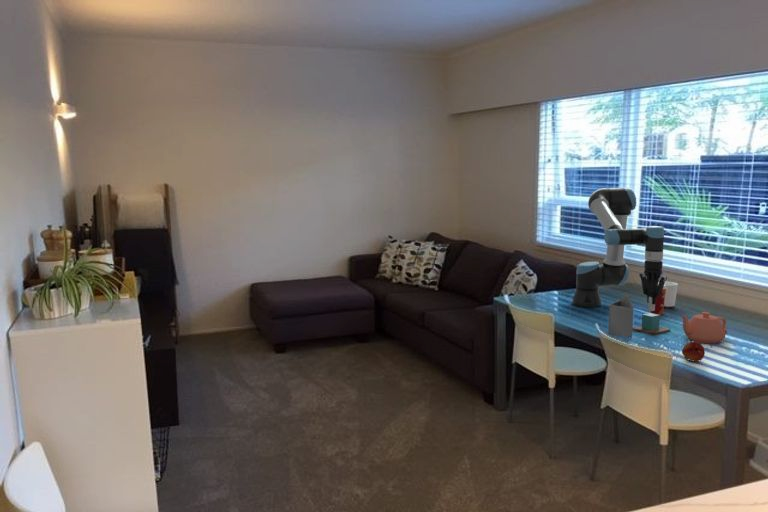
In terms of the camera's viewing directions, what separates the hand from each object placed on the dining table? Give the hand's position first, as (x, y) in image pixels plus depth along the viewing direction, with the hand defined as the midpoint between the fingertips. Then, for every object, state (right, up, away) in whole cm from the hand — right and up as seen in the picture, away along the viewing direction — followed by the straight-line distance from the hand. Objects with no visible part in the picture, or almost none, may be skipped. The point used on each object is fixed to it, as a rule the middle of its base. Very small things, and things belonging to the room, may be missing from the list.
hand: (651, 310), depth 275 cm
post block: (0, -9, +2) cm, 10 cm away
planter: (-16, -10, -1) cm, 19 cm away
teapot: (+16, -12, -15) cm, 25 cm away
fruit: (-2, -16, -41) cm, 44 cm away
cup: (+29, -2, +45) cm, 54 cm away
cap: (0, -8, +1) cm, 9 cm away
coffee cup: (+17, -5, +32) cm, 36 cm away
